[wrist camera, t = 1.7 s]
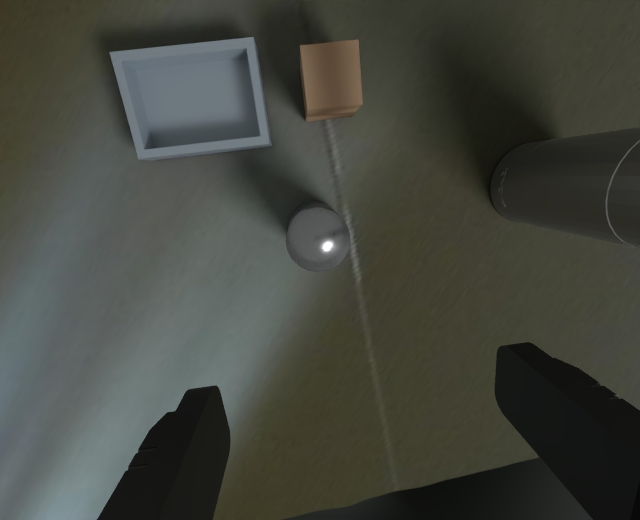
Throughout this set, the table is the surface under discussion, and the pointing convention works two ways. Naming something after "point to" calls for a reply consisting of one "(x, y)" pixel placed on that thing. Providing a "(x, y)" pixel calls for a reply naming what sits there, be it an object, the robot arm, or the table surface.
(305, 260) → the grey can
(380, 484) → the table surface
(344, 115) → the walnut block
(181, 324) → the table surface
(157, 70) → the slate tray
